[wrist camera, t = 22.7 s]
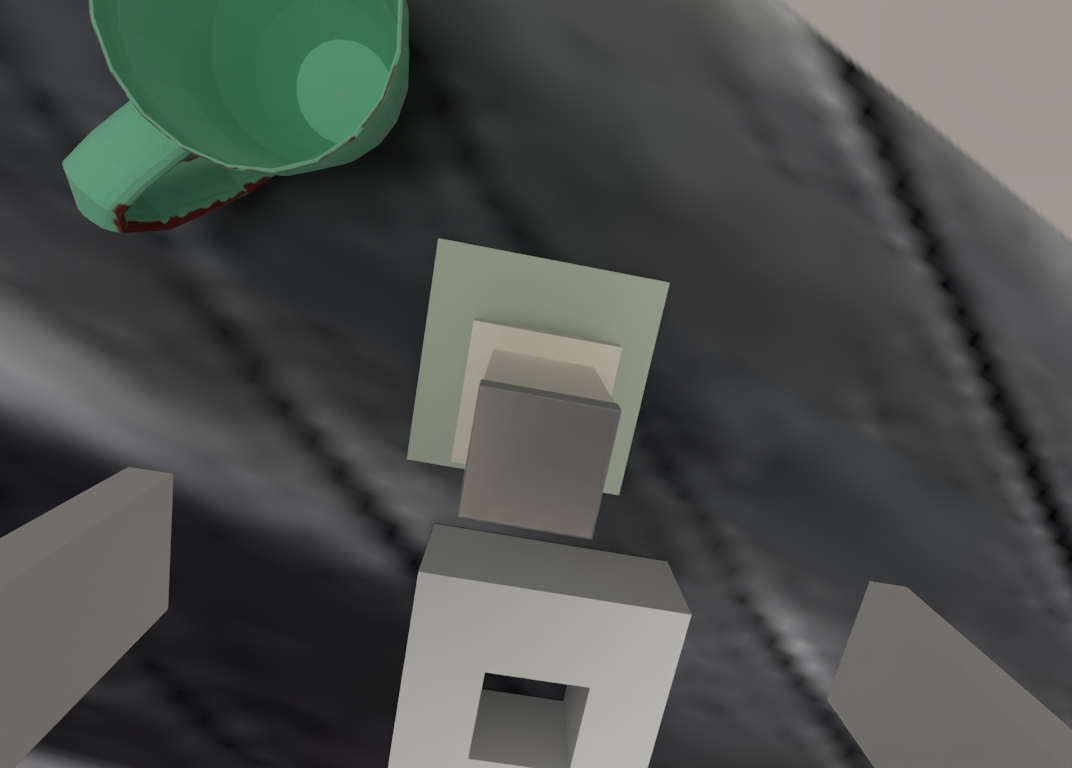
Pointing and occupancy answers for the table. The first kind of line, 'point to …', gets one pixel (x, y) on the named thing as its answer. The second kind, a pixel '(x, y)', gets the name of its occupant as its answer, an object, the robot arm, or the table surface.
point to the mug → (233, 100)
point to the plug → (536, 428)
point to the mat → (537, 302)
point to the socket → (536, 654)
